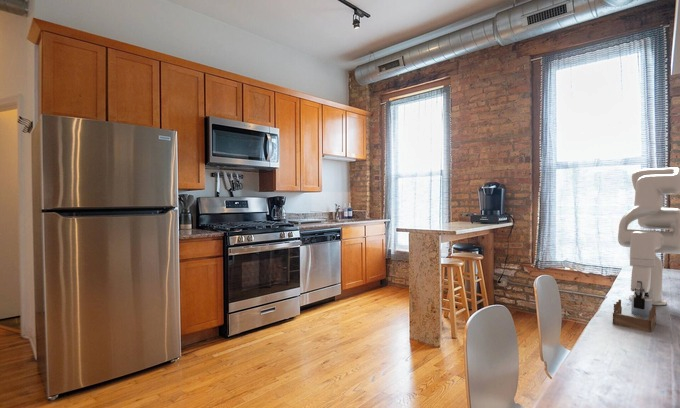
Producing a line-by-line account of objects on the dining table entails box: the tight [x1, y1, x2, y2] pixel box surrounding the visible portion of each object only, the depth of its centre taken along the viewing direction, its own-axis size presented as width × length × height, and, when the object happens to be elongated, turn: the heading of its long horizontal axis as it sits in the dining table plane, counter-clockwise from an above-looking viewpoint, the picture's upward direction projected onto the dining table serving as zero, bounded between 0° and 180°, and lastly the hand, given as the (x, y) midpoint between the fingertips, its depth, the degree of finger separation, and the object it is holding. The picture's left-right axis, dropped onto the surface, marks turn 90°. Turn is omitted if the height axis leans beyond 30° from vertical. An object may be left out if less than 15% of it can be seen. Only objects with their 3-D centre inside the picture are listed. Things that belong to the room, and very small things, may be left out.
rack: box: [612, 299, 657, 333], centre depth 129 cm, size 12×11×7 cm
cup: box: [631, 294, 653, 318], centre depth 140 cm, size 6×6×7 cm
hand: (641, 306), depth 139 cm, fingers open, 9 cm apart
